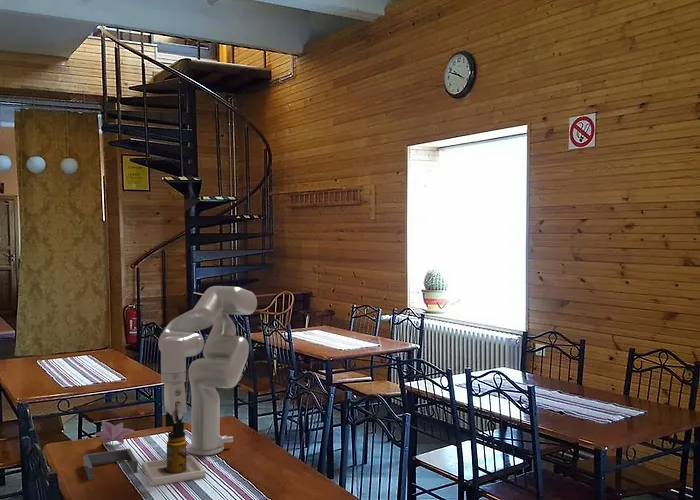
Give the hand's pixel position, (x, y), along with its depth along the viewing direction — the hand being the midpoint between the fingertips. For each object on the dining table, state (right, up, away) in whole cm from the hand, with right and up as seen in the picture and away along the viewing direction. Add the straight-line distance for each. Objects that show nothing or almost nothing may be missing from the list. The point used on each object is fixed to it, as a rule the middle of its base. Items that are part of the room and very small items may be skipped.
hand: (174, 430), depth 210 cm
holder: (-21, -13, +2) cm, 25 cm away
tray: (0, -13, 0) cm, 13 cm away
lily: (-28, -13, +24) cm, 39 cm away
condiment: (0, -13, 0) cm, 13 cm away
